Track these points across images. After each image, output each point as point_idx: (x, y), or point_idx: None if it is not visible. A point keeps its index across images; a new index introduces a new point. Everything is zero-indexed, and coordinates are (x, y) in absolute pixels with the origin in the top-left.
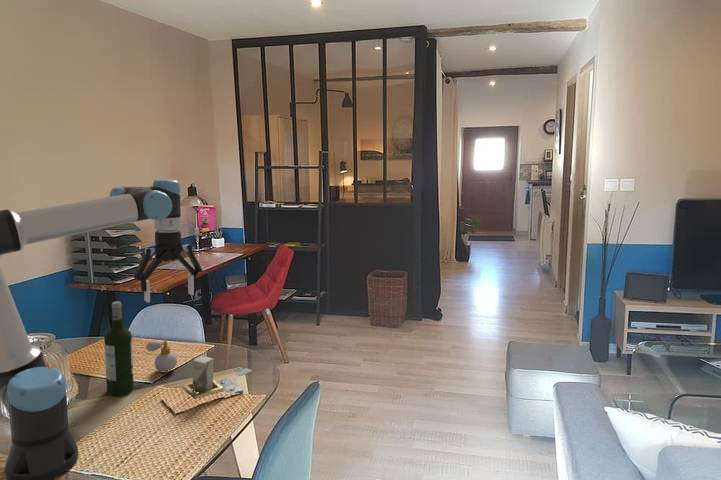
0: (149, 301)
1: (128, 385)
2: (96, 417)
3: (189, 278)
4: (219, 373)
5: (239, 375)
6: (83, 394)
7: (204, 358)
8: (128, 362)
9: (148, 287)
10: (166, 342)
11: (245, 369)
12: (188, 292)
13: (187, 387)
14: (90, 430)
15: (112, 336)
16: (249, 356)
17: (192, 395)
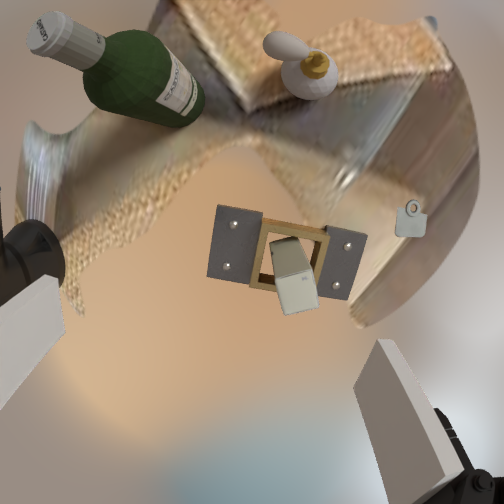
0: (60, 333)
1: (178, 124)
2: (105, 179)
3: (408, 467)
4: (379, 190)
5: (395, 233)
6: None
7: (302, 294)
8: (163, 117)
9: (3, 395)
10: (323, 59)
11: (421, 219)
12: (377, 350)
13: (262, 242)
14: (87, 216)
15: (88, 95)
16: (463, 175)
17: (251, 274)
